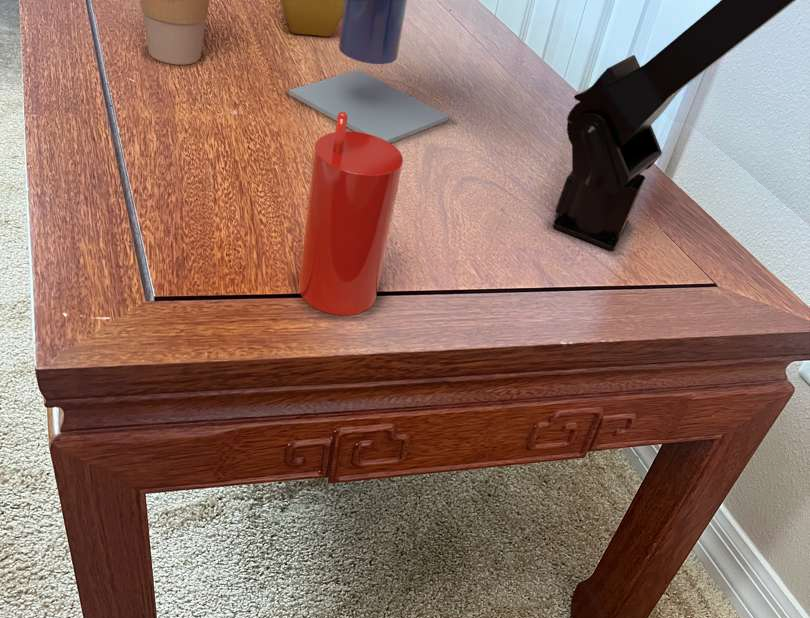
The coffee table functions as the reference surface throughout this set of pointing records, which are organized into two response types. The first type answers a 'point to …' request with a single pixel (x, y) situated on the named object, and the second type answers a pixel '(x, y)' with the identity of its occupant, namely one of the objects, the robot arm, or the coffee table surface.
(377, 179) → the red cylinder
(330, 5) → the flower pot
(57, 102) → the coffee table surface
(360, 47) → the blue cylinder
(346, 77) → the gray mat
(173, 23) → the coffee cup
